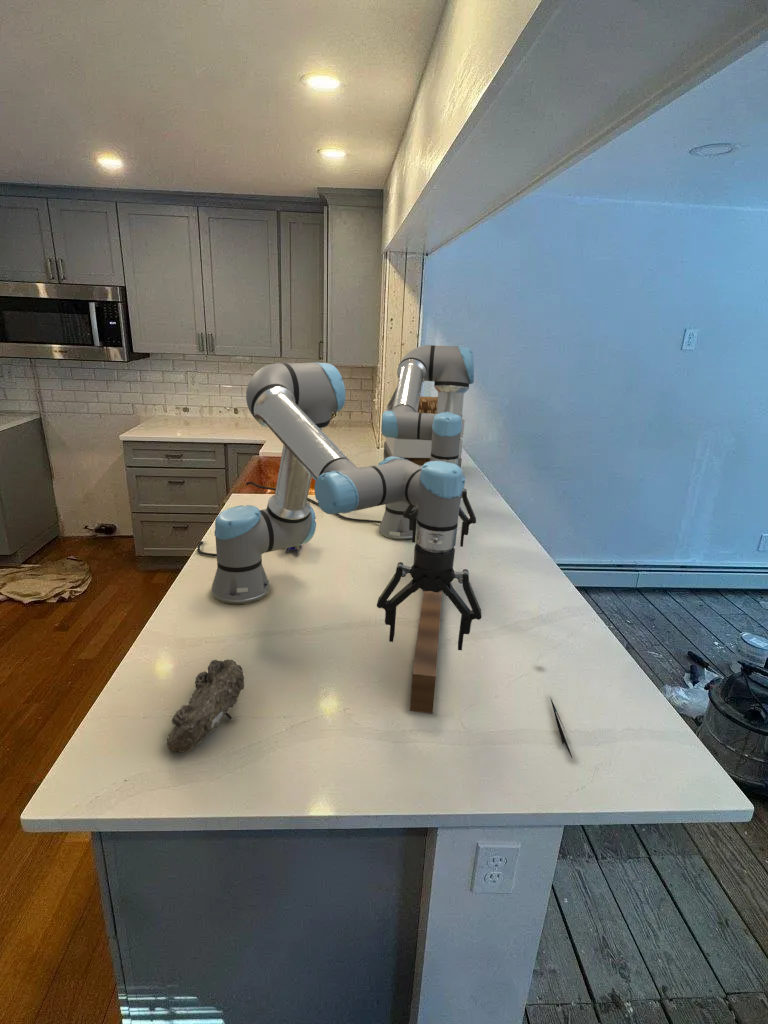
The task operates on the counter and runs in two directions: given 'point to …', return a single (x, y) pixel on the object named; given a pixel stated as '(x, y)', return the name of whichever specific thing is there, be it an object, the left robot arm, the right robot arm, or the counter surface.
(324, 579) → the counter surface
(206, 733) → the fossil
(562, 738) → the feather
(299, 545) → the figurine character
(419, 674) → the post
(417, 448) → the transformer
